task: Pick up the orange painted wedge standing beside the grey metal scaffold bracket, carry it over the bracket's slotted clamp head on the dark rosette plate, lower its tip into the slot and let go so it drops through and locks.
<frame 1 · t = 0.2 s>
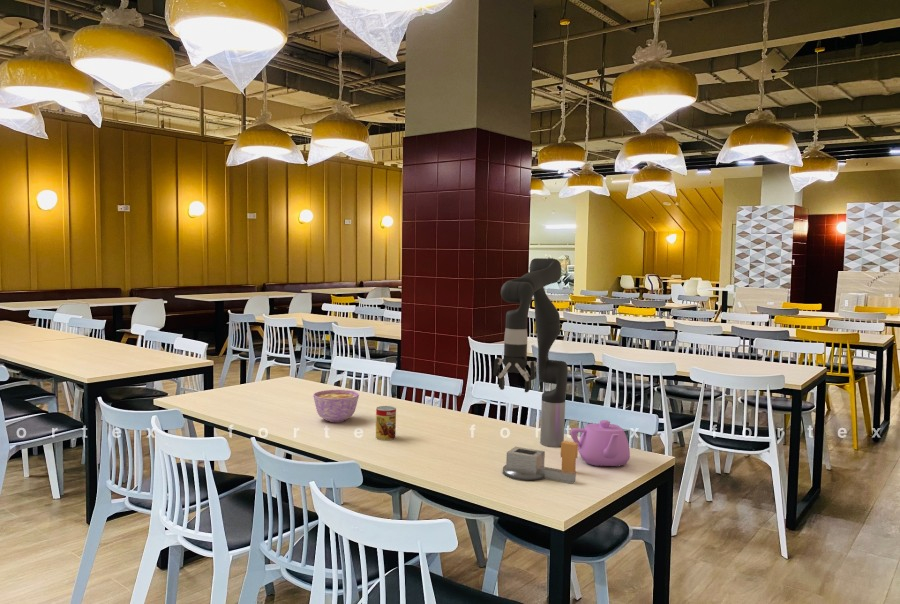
hand: (514, 390, 213), 29 cm above the table, tool pointing down, fingers open, 8 cm apart
teapot: (604, 463, 231), on the table
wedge: (568, 471, 220), on the table
bowl of food: (335, 420, 283), on the table
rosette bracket: (525, 473, 217), on the table
canned food: (385, 438, 257), on the table
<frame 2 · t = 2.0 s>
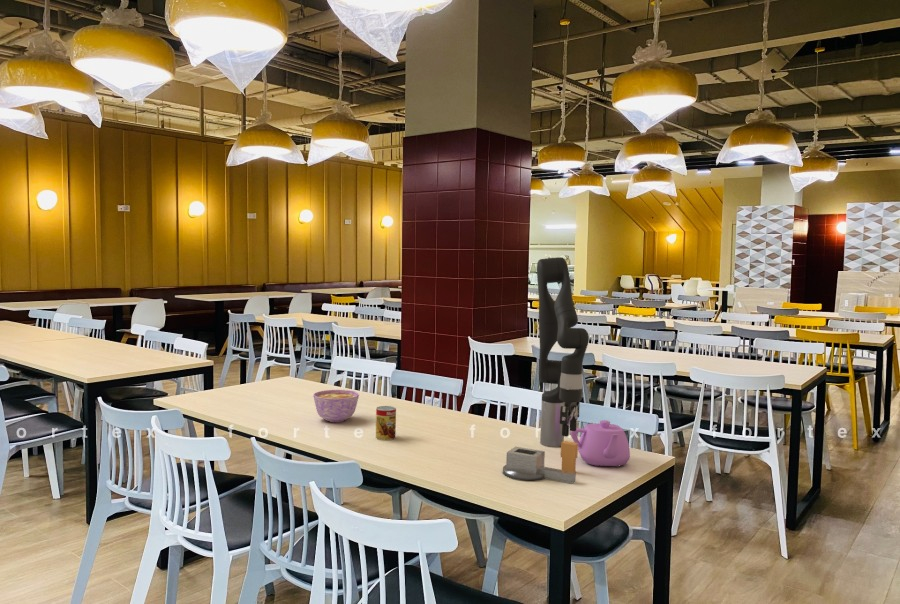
hand: (569, 433, 219), 13 cm above the table, tool pointing down, fingers open, 8 cm apart
nothing on the table moved.
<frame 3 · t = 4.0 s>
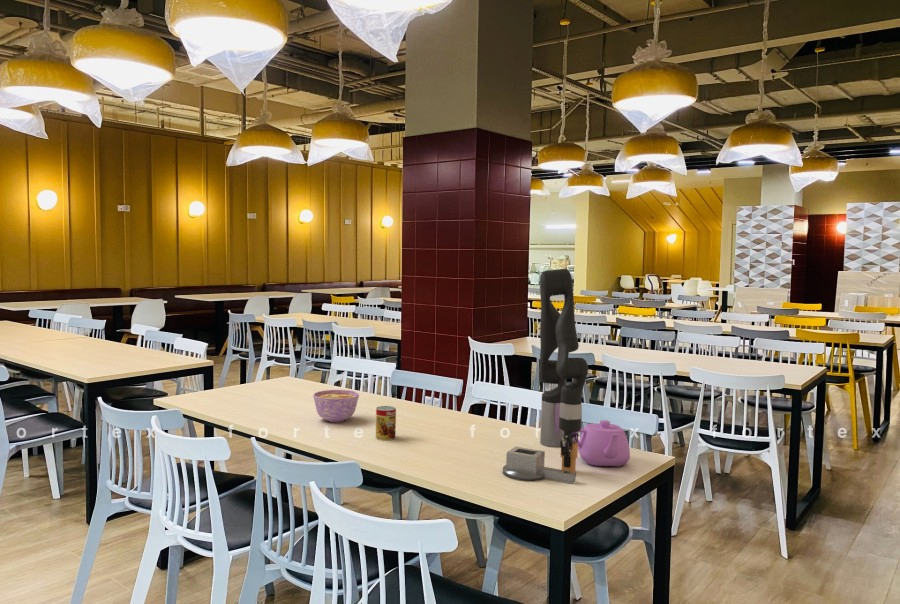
hand: (568, 465, 220), 2 cm above the table, tool pointing down, fingers closed on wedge, 3 cm apart
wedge: (568, 471, 220), on the table, touching gripper
everything else where it was.
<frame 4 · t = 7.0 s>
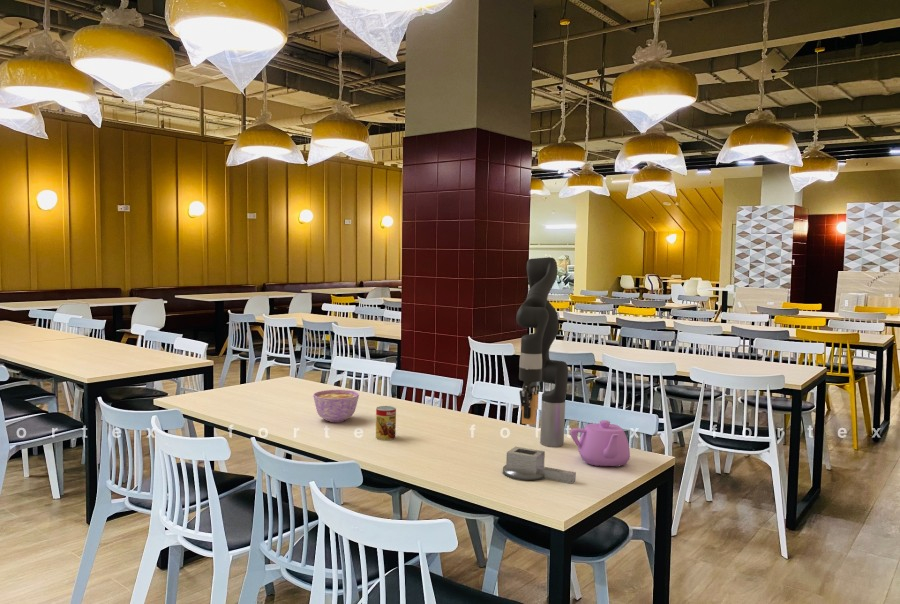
hand: (528, 417, 216), 19 cm above the table, tool pointing down, fingers closed on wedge, 3 cm apart
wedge: (528, 423, 216), point 17 cm above the table, touching gripper
everything else where it was.
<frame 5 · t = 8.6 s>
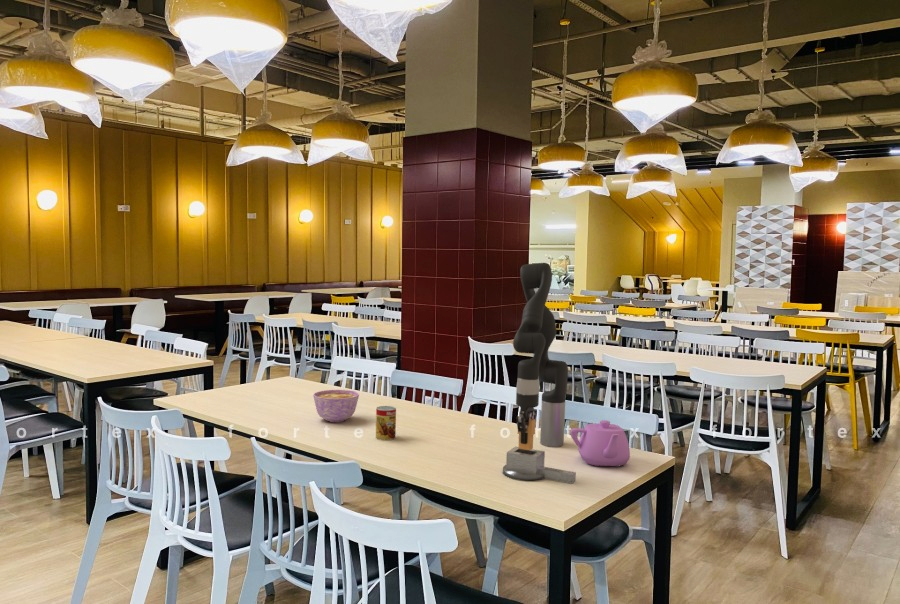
hand: (525, 442, 216), 11 cm above the table, tool pointing down, fingers closed on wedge, 3 cm apart
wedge: (525, 448, 216), point 9 cm above the table, touching gripper
everything else where it was.
when the fingers open (8 cm above the table, at t = 9.8 s): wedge drops 4 cm, resting on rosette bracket.
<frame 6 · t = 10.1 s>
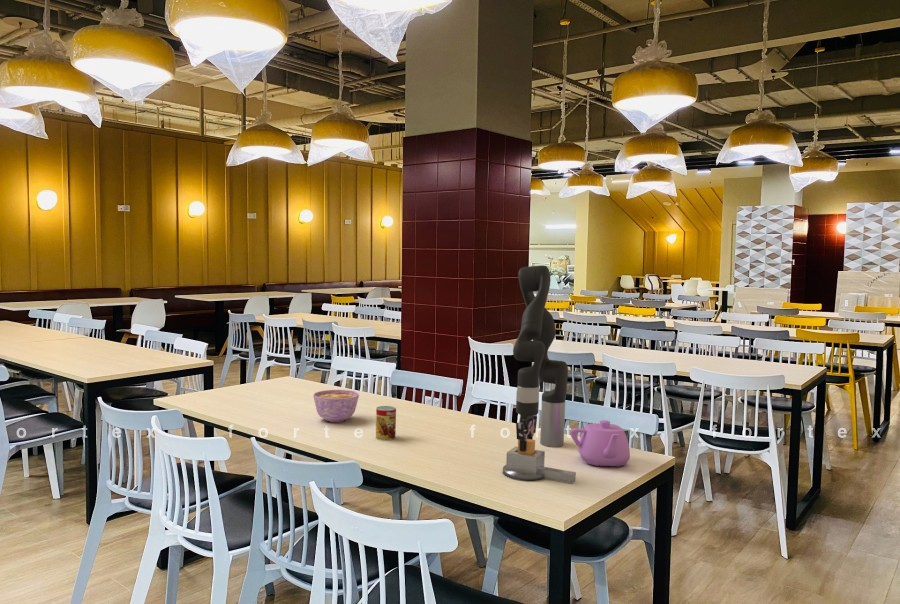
hand: (525, 449, 216), 8 cm above the table, tool pointing down, fingers open, 5 cm apart
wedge: (525, 468, 217), point 2 cm above the table, touching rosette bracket
everything else where it was.
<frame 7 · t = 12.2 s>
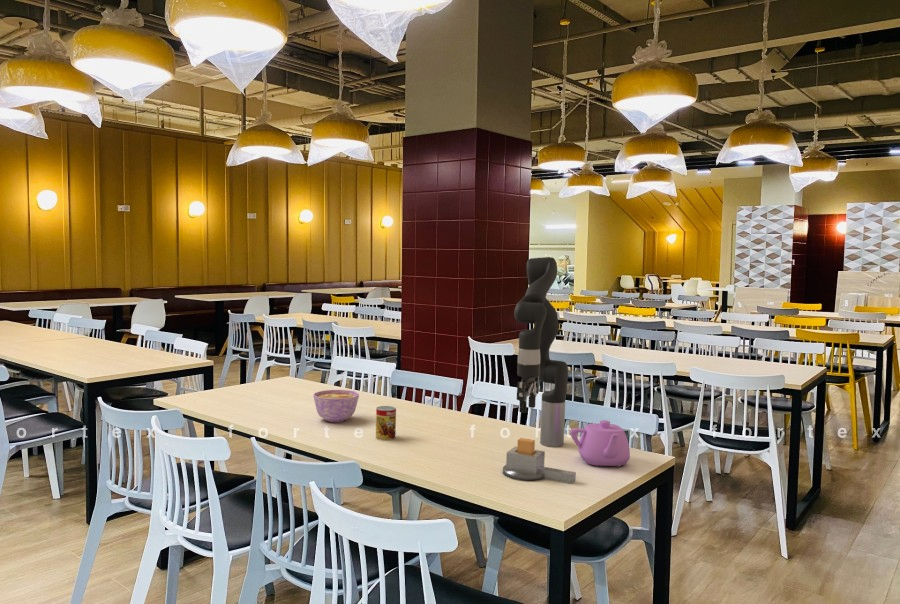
hand: (527, 409, 215), 22 cm above the table, tool pointing down, fingers open, 8 cm apart
nothing on the table moved.
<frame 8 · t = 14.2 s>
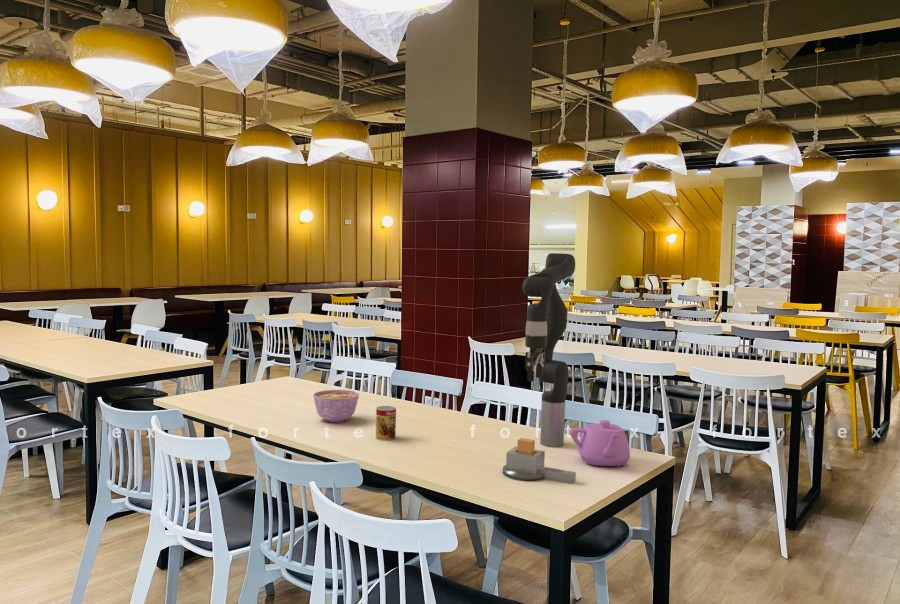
hand: (534, 379, 227), 30 cm above the table, tool pointing down, fingers open, 8 cm apart
nothing on the table moved.
at the end: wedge 0.1 cm off-centre on the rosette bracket, point 1.5 cm above the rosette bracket's base; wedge tilted 0°; the gripper is holding nothing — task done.
